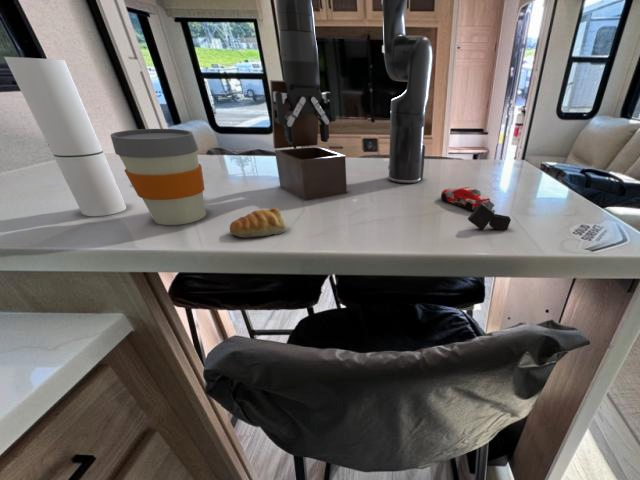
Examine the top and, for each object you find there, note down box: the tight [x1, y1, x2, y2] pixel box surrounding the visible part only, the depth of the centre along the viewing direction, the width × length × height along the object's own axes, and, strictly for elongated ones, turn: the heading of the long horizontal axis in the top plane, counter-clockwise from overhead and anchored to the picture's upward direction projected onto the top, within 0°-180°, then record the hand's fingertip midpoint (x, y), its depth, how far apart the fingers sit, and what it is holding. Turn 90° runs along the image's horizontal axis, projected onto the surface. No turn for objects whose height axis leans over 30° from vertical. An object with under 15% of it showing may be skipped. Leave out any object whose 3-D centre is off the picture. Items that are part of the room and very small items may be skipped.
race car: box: [440, 186, 491, 212], centre depth 80 cm, size 13×5×4 cm, turn 39°
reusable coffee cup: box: [110, 128, 207, 226], centre depth 62 cm, size 13×13×15 cm
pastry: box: [229, 207, 287, 239], centre depth 61 cm, size 9×7×4 cm
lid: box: [269, 79, 319, 150], centre depth 81 cm, size 14×12×5 cm
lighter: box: [467, 201, 512, 231], centre depth 68 cm, size 8×2×5 cm
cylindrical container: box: [3, 56, 127, 217], centre depth 61 cm, size 7×7×25 cm
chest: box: [274, 145, 348, 201], centre depth 83 cm, size 14×12×9 cm
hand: (308, 142), depth 80 cm, fingers open, 8 cm apart
